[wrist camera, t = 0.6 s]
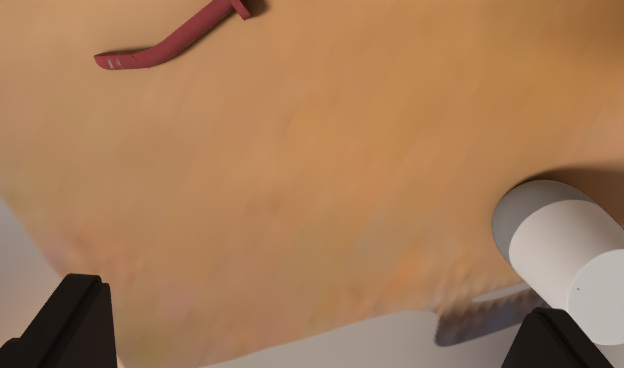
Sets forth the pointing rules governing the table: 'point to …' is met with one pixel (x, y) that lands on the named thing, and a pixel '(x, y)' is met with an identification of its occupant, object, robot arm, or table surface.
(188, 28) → the pliers
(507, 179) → the table surface
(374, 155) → the table surface
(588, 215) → the smart speaker
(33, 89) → the table surface
